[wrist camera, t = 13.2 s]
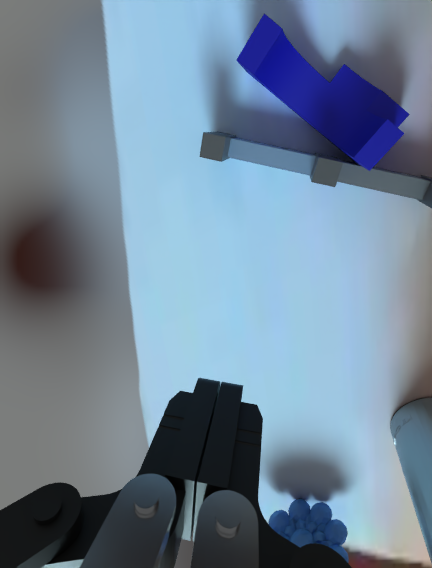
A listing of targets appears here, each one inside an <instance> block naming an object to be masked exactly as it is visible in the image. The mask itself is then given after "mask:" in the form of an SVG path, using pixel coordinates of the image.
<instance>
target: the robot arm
mask: <svg viewBox="0 0 432 568" xmlns="http://www.w3.org/2000/svg"><path fill="white" fill-rule="evenodd" d="M242 391H243V385H237V384H231V383H226V382H222V383H221V386H220V381H214V380H208V379H203V378H198V380H197V383H196V386H195V389H194V392H193V393H189V392H184V391H180V392H179V393H177V394H176V395H175V396H174V397H173V398H172V399H171V400H170V401H169V403H168V405H167V408H166V410H165V412H164V416H163V417H162V419H161V422H160V424H159V428H158V429H157V431H156V434H155V436H154V438H153V441H152V443H151V445H150V448H149V450H148V452H147V455H146V457H145V459H144V462H143V464H142V466H141V469H140V471H139V473H138V474H137V476H136V477H135V478H134V479H132V480H130V481H129V482H128V483H127V484H126V485H125V486H124V487H123V488H122V489H121V490H119V491H117V492H114V493H111V494H106V495H100V496H99V495H98V496H91V497H82V498H81V497H80V494H79V492H78V491H77V489H76V488H75V487H73V486H72V485H70V484H67V483H53V484H48V485H46V486H43V487H41V488H39V489H37V490H36V491H34V492H32V493H30V494H28V495H27V496H25V497H23V498H21V499H20V500H18V501H16V502H14V503H12V504H11V505H9V506H7V507H5V508H4V509H2V510H0V568H174V566H175V562H176V559H177V555H178V550H179V546H180V542H181V539H185V540H189V541H190V540H191V535H192V531H193V526H194V532H193V541H194V546H193V553H192V560H191V567H190V568H351V566H350V565H349V564H348V563H347V561H346V560H345V559H344V558H343V557H342V556H341V555H340V554H339V553H337V552H336V551H335V550H333V549H332V548H330V547H328V546H325V545H322V544H317V543H310V544H306V545H304V546H302V547H299V546H297V545H295V544H294V543H292V542H290V541H289V540H287V539H286V538H284V537H282V536H281V535H279V534H278V533H277V532H275V531H274V530H273V529H272V528H271V527H270V526H269V524H268V523H267V522H266V520H265V519H264V517H263V515H262V513H261V511H260V507H259V503H258V487H259V471H260V455H261V439H262V422H263V418H262V416H261V413H260V411H259V408H258V406H257V405H255V404H249V403H244V402H241V398H242ZM390 429H391V434H392V437H393V441H394V444H395V447H396V450H397V453H398V456H399V460H400V463H401V467H402V470H403V473H404V476H405V479H406V483H407V486H408V489H409V492H410V495H411V499H412V502H413V505H414V508H415V511H416V515H417V518H418V521H419V524H420V528H421V531H422V534H423V537H424V540H425V544H426V547H427V550H428V553H429V556H430V560H431V563H432V397H430V398H423V399H419V400H416V401H413V402H410V403H409V404H407V405H405V406H403V407H402V408H401V409H399V410H398V411H397V412H396V414H395V415H394V416H393V419H392V421H391V427H390Z"/></svg>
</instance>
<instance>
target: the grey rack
mask: <svg viewBox="0 0 432 568" xmlns="http://www.w3.org/2000/svg"><path fill="white" fill-rule="evenodd" d="M200 157H203V158H207V159H212V160H216V161H221V162H222V161H224V160H226V159H228V158H233V159H238V160H242V161H247V162H251V163H256V164H261V165H265V166H270V167H274V168H279V169H283V170H288V171H292V172H297V173H301V174H306V175H310V178H311V182H314V183H319V184H323V185H328V186H332V187H335V186H336V183H337V182H342V183H346V184H351V185H355V186H360V187H364V188H369V189H373V190H378V191H382V192H387V193H391V194H396V195H400V196H405V197H409V198H414V199H417V200H419V201H420V202H422V203H424V204H425V205H427V206H429V207H430V208H432V178H431V177H427V176H422V175H421V177H417V176H413V175H408V174H403V173H399V172H394V171H389V170H385V169H380V168H375V167H373V168H372V169H371V170H370V171H369V170H367V169H365V168H364V167H362V166H360V165H359V164H357V163H352V162H347V161H343V160H339V159H338V158H337V157H333V156H328V155H324V154H319V153H315V154H310V153H305V152H301V151H296V150H291V149H287V148H282V147H277V146H273V145H268V144H263V143H259V142H254V141H249V140H245V139H240V138H236V136H235V135H230V134H225V133H221V132H203V138H202V145H201V151H200Z"/></svg>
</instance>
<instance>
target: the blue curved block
mask: <svg viewBox="0 0 432 568" xmlns="http://www.w3.org/2000/svg"><path fill="white" fill-rule="evenodd" d="M237 61H238V63H239V64H240V65H241V66H242V67H243V68H244V69H245V70H246V72H247V73H249V74H250V75H251V76H252V77H253V78H255V79H256V80H257V81H258V82H259V83H261V84H262V85H263V86H264V87H265V88H267V89H268V90H269V91H270V92H271V93H273V94H274V95H275V96H276V97H277V98H279V99H280V100H281V101H282V102H283V103H285V104H286V105H287V106H288V107H289V108H291V109H292V110H293V111H294V112H295V113H297V114H298V115H299V116H300V117H301V118H303V119H304V120H305V121H306V122H307V123H309V124H310V125H311V126H312V127H313V128H315V129H316V130H317V131H318V132H320V133H321V134H322V135H323V136H324V137H326V138H327V139H328V140H329V141H330V142H332V143H333V144H334V145H335V146H336V147H338V148H339V149H340V150H341V151H342V152H344V153H345V154H346V155H347V156H348V157H350V158H351V159H352V160H353V161H354V162H356V163H357V164H359V165H360V166H362V167H364V168H365V169H367V170H369V171H370V170H371V169H372V168H373V167H374V166H375V165H376V164H377V162H378V161H379V160H380V159H381V158H382V157H383V156H384V155H385V154H386V153H387V152H388V151H389V150H390V148H391V147H392V146H393V145H394V144H395V143H396V142H397V141H398V140H399V139H400V138H401V137H402V135H403V134H404V133H403V132H402V131H401V130H400V129H399V128H398V127H399V126H400V124H401V123H402V122H403V121H404V120H405V119H406V118H407V117H408V116H409V114H408V113H407V112H406V111H405V110H404V109H403V108H402V107H400V106H399V105H398V104H397V103H396V102H395V101H393V100H392V99H391V98H390V97H389V96H388V95H386V94H385V93H384V92H383V91H382V90H380V89H378V88H376V87H375V86H373V85H372V84H370V83H369V82H367V81H366V80H364V79H363V78H361V77H360V76H359V75H357V74H356V73H355V72H354V71H352V70H351V69H350V68H349V67H347V66H346V65H345V64H344V65H343V66H342V68H341V69H340V70H339V72H338V73H337V74H336V76H335V77H334V78H333V80H332V81H331V82H330V83H329V82H328V81H327V80H326V79H325V78H324V77H322V76H321V75H320V74H319V73H318V72H317V71H316V70H315V69H314V68H313V67H312V66H311V65H310V64H309V63H308V62H307V61H306V60H305V59H304V58H303V57H302V56H301V55H300V54H299V53H298V52H297V51H296V49H295V48H294V47H293V46H292V45H291V43H290V42H289V41H288V39H287V38H286V36H285V34H284V32H283V29H282V28H281V27H280V26H278V25H277V24H276V23H275V22H274V21H273V20H271V19H270V18H269V17H268V16H267V15H266V14H264V15H263V16H262V18H261V20H260V21H259V23H258V25H257V27H256V28H255V30H254V32H253V33H252V35H251V37H250V38H249V40H248V42H247V43H246V45H245V47H244V48H243V50H242V52H241V53H240V55H239V57H238V58H237Z"/></svg>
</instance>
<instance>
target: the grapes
mask: <svg viewBox="0 0 432 568" xmlns="http://www.w3.org/2000/svg"><path fill="white" fill-rule="evenodd" d="M288 511H289V515H288V514H287V512H286V511H283V510H279V511H275V512H274V513H273V514H272V515H271V517H270V519H269V526H270V527H271V528H272V529H273V530H274V531H275V532H277V533H278V534H279V535H281V536H282V537H284V538H286V539H287V540H289V541H290V542H292V543H294V544H295V545H297V546H299V547H302V546H304V545H306V544H310V543H317V544H322V545H325V546H328V547H330V548H332V549H333V550H335V551H336V552H337V553H339V554H340V555H341V556H342V557H343V558H344V559H345V560H346V561H347V563H348V561H349V559H348V554H347V552H346V551H345V550H344V548H343V547H342V546H341V545H342V544H343V543H344V542H345V540H346V537H347V534H348V533H347V528H346V526H345V525H344V524H343V523H342V522H341V521H340V520H337V519H335V520H331V517H332V511H331V509H330V507H329V506H328V505H327V504H325V503H323V502H320V503H316V504H314V505H313V506H312V508H311V510H310V506H309V505H308V503H307V502H306V501H305V500H303V499H298V500H295V501H293V502H292V503H291V505H290V507H289V510H288Z"/></svg>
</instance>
